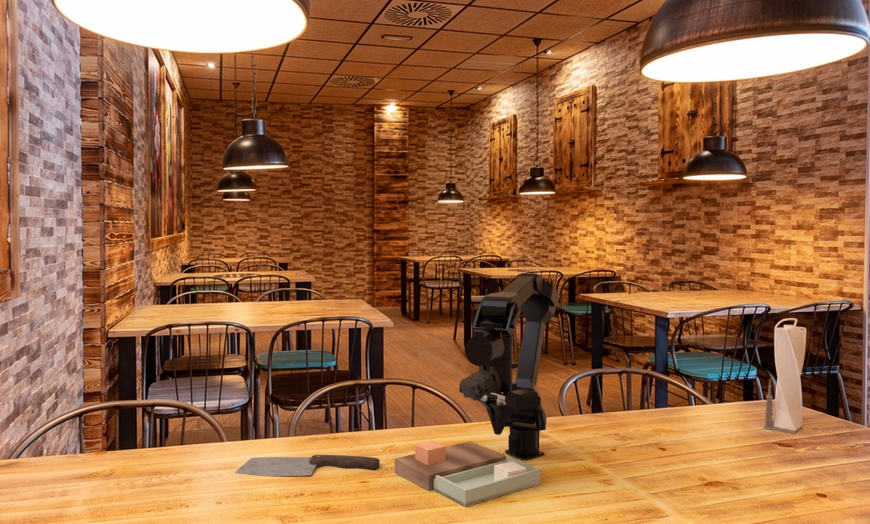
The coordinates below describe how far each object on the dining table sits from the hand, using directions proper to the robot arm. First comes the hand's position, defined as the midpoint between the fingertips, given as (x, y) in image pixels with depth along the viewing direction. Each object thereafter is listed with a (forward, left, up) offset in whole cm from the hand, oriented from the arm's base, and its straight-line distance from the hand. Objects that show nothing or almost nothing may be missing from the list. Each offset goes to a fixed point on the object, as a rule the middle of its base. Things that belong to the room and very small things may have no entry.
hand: (497, 434), depth 135 cm
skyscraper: (-83, +17, -9) cm, 85 cm away
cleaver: (+29, -27, -9) cm, 41 cm away
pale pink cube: (+1, +5, -5) cm, 7 cm away
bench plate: (+6, -8, -9) cm, 13 cm away
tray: (+5, +3, -9) cm, 11 cm away
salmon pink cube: (+10, -9, -6) cm, 15 cm away
